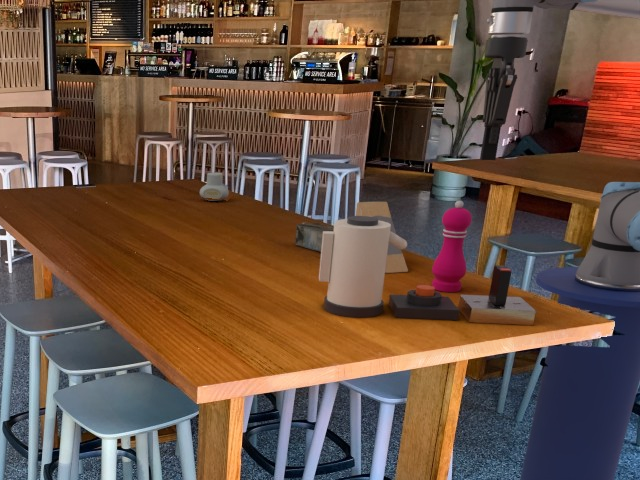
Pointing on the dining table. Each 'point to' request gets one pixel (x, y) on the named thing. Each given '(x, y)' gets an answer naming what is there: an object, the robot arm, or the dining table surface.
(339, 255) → the kettle
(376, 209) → the sandwich container
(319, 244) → the beverage carton
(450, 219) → the pepper mill
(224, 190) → the air freshener
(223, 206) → the dining table surface
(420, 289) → the red push button
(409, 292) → the push button box
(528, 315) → the lever switch base
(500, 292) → the black switch lever
